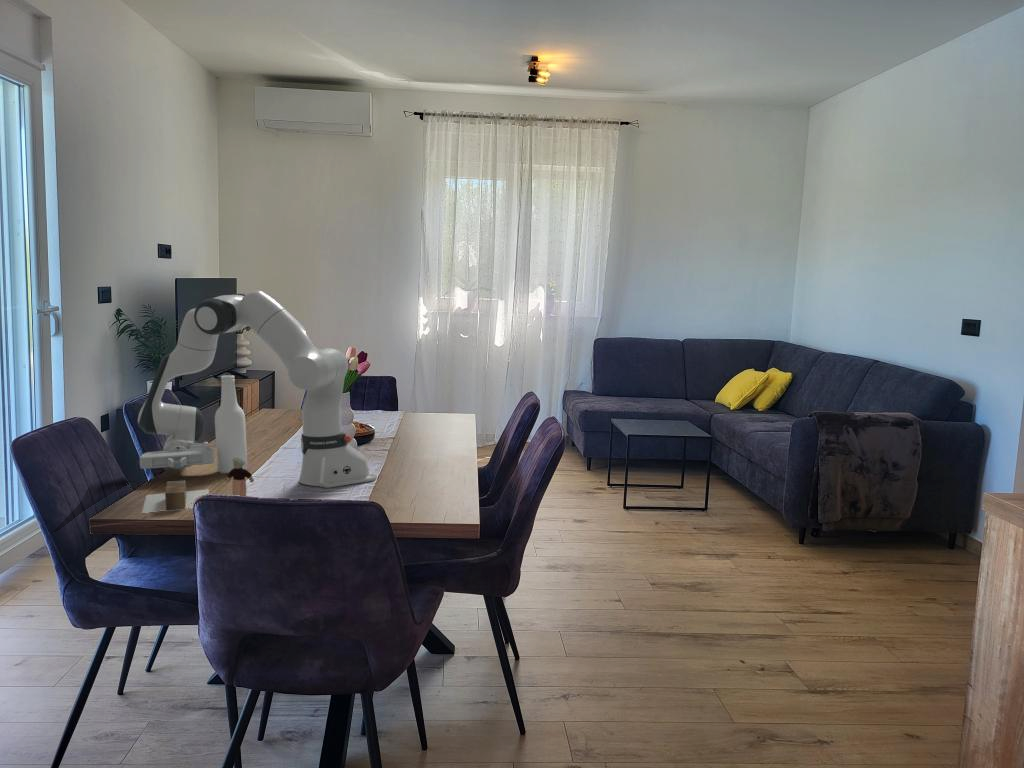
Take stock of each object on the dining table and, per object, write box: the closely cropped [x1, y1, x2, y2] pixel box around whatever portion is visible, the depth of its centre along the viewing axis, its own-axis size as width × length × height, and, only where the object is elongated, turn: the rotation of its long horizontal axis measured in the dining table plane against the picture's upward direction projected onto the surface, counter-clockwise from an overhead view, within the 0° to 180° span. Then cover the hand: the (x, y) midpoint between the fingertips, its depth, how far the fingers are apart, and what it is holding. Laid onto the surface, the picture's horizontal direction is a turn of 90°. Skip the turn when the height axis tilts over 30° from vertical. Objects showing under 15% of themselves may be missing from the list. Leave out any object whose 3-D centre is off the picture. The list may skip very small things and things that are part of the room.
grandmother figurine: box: [225, 456, 255, 497], centre depth 208 cm, size 8×4×13 cm, turn 95°
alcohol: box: [214, 374, 248, 475], centre depth 238 cm, size 9×9×30 cm
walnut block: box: [164, 479, 187, 512], centre depth 205 cm, size 4×4×12 cm
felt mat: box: [141, 488, 210, 514], centre depth 207 cm, size 16×18×1 cm
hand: (176, 464), depth 222 cm, fingers closed
